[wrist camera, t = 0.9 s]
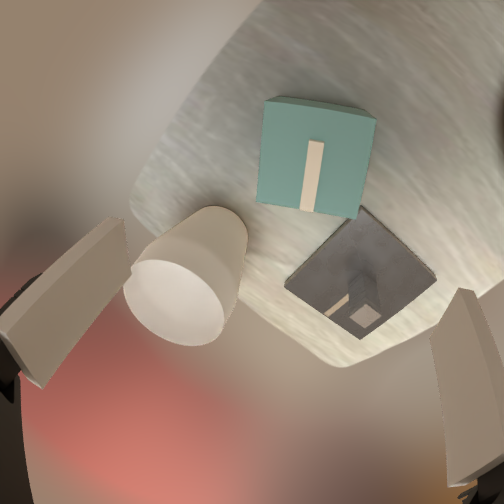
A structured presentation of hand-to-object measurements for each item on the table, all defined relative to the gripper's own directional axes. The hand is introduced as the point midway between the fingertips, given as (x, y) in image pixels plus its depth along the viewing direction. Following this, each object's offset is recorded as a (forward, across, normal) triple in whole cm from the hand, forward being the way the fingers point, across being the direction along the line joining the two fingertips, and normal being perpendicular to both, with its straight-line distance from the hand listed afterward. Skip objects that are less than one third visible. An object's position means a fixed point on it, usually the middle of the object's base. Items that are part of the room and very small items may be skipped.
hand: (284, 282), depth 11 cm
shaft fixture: (+19, +8, -12) cm, 24 cm away
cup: (+19, -8, -10) cm, 23 cm away
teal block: (+19, 0, +1) cm, 19 cm away
